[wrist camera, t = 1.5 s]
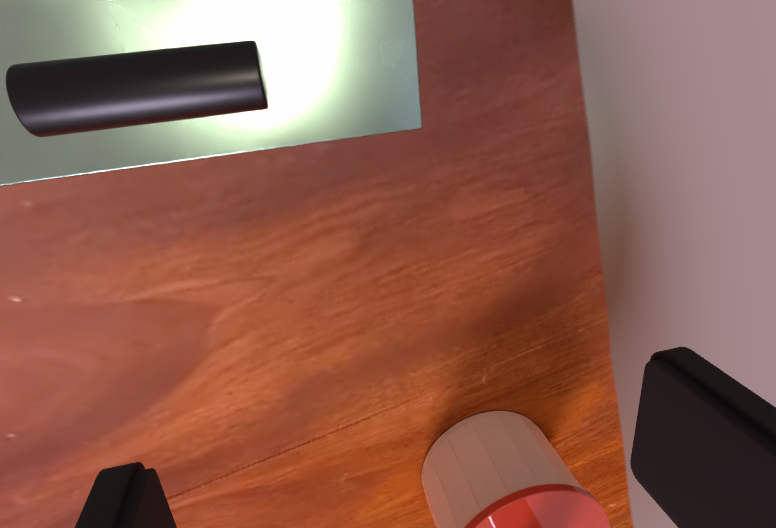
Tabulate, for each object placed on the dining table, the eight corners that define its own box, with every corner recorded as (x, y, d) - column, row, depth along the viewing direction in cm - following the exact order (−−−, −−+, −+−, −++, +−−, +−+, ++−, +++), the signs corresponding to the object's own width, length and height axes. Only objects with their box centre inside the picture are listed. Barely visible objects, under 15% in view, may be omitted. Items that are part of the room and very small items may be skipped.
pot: (479, 390, 36) (526, 466, 29) (568, 440, 40) (627, 517, 33) (395, 487, 38) (421, 580, 31) (488, 526, 42) (528, 615, 35)
